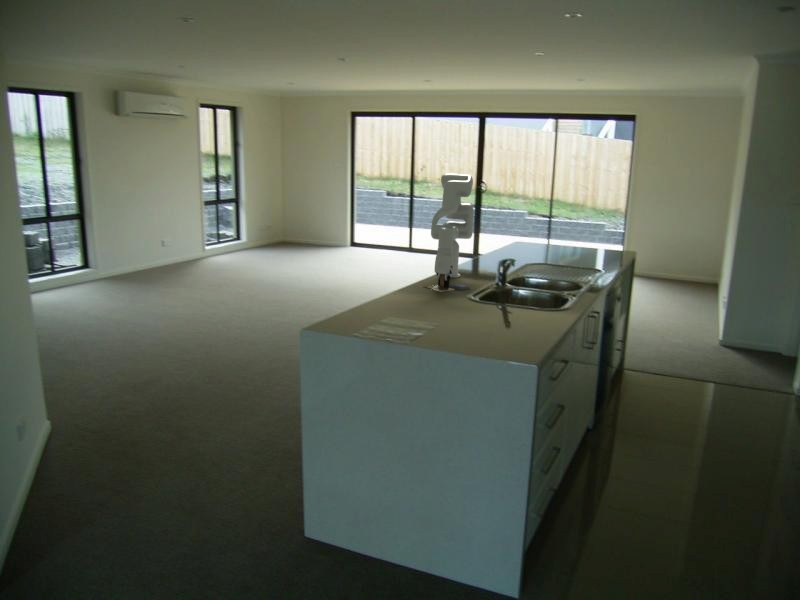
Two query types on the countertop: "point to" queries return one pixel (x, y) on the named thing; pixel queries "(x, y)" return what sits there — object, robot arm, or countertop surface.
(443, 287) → the stamp
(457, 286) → the ink pad
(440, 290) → the card sheet
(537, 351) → the countertop surface
